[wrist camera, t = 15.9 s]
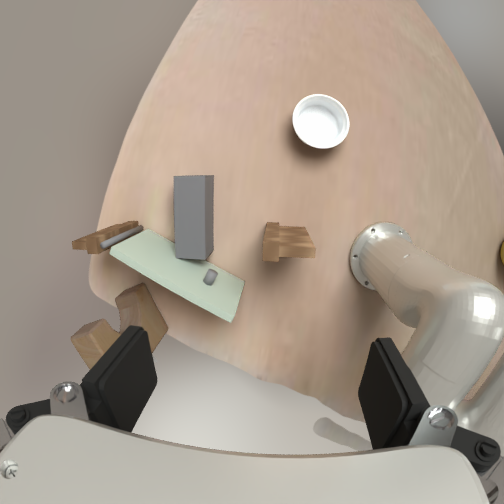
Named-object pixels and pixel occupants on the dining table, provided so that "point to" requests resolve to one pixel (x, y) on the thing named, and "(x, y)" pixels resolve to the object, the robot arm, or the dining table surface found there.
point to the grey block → (193, 216)
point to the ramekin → (320, 121)
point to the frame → (274, 244)
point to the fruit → (502, 253)
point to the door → (178, 271)
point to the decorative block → (131, 313)
